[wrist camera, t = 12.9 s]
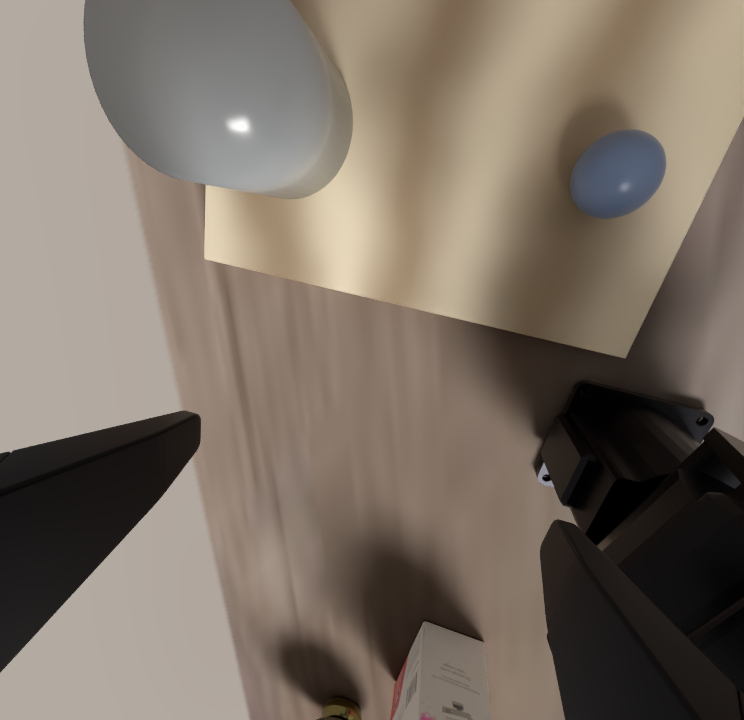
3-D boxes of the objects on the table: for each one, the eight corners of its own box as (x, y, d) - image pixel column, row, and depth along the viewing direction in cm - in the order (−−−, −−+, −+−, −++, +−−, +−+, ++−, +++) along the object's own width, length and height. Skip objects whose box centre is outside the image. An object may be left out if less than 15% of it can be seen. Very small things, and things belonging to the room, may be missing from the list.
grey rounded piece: (365, 48, 15) (302, -87, 9) (340, 211, 17) (277, 200, 11) (225, 27, 16) (71, -112, 9) (220, 186, 18) (94, 161, 12)
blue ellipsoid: (655, 147, 14) (704, 126, 12) (621, 226, 15) (659, 225, 13) (577, 133, 15) (607, 111, 12) (549, 212, 16) (571, 208, 13)
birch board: (965, -381, 10) (1030, -458, 9) (616, 351, 18) (627, 360, 17) (234, -384, 13) (213, -444, 11) (215, 257, 21) (202, 259, 20)
